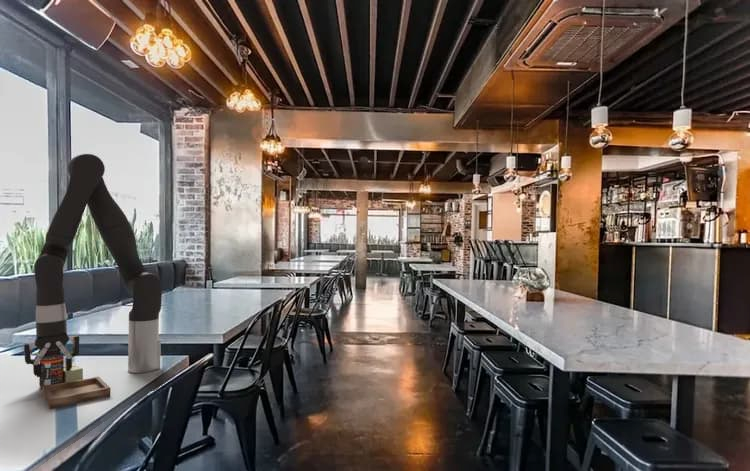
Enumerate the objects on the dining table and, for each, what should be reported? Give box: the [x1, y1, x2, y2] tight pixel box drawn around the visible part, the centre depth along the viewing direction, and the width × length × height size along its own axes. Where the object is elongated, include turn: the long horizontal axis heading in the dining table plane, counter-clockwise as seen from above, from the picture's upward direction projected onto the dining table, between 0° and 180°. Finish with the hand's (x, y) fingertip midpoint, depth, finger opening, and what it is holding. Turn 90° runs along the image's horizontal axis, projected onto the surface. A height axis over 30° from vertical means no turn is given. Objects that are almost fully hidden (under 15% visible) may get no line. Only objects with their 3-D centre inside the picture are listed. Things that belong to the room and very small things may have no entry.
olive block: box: [63, 365, 84, 383], centre depth 139 cm, size 4×4×4 cm
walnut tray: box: [41, 376, 111, 410], centre depth 127 cm, size 14×14×2 cm
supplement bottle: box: [38, 349, 65, 389], centre depth 135 cm, size 6×6×11 cm
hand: (53, 373), depth 135 cm, fingers open, 6 cm apart
